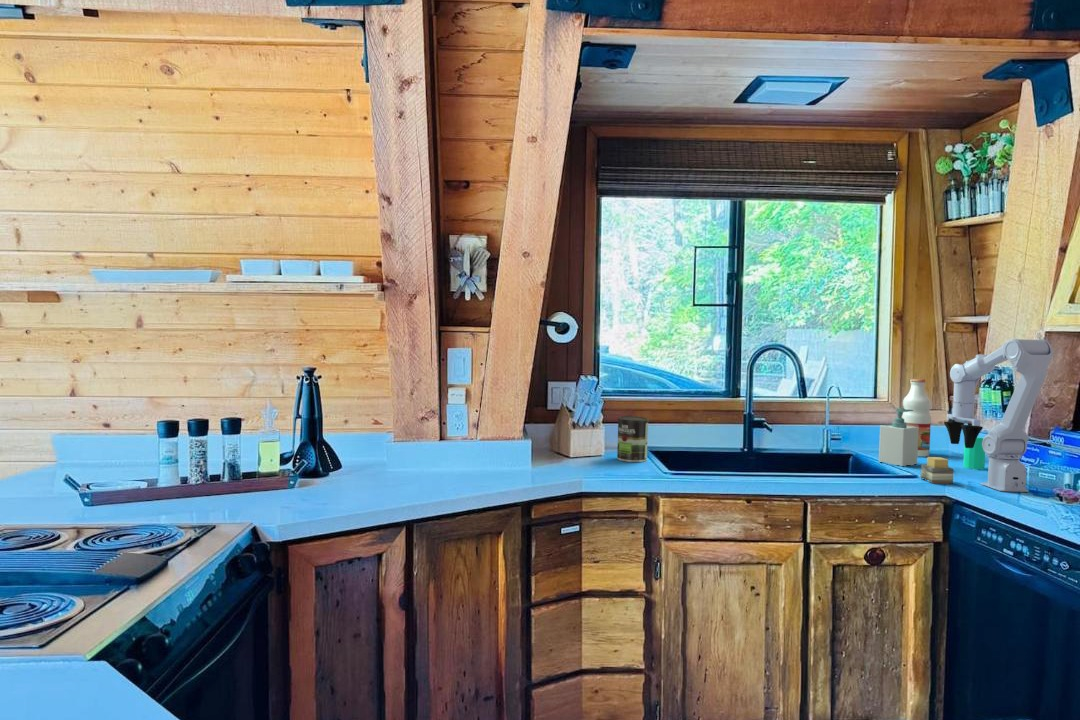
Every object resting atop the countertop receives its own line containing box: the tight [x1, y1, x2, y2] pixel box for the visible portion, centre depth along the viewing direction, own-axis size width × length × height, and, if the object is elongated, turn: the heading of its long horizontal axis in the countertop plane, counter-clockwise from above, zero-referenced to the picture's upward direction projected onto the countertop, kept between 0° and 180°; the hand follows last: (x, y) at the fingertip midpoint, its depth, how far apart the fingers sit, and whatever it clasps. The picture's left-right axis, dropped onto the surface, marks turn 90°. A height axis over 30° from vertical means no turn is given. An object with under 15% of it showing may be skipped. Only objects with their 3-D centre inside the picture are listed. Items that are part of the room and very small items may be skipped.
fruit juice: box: [902, 378, 932, 458], centre depth 252 cm, size 9×9×28 cm
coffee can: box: [616, 416, 650, 463], centre depth 232 cm, size 10×10×14 cm
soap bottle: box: [878, 407, 919, 467], centre depth 234 cm, size 9×9×19 cm
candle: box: [962, 436, 986, 470], centre depth 228 cm, size 6×6×12 cm
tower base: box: [920, 463, 955, 485], centre depth 206 cm, size 6×6×4 cm
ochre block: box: [926, 456, 949, 468], centre depth 206 cm, size 4×4×4 cm
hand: (961, 445), depth 215 cm, fingers open, 7 cm apart
